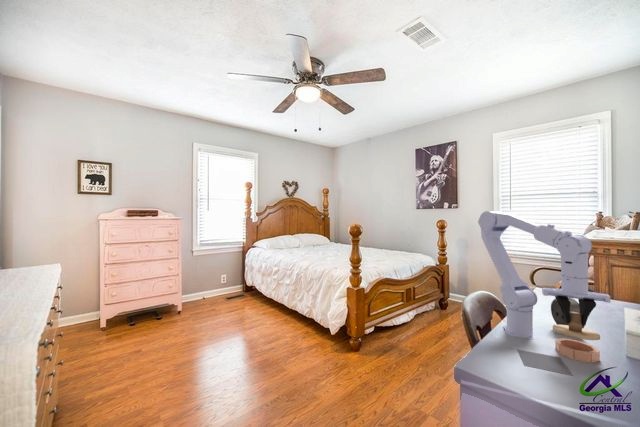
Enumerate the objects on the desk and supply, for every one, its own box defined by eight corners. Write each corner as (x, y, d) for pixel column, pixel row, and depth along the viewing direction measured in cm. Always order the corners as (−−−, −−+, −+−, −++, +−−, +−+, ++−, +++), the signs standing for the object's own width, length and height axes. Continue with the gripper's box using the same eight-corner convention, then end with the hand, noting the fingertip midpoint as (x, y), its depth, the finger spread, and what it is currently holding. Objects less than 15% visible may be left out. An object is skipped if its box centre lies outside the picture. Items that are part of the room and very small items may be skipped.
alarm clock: (587, 339, 89) (586, 290, 89) (568, 338, 90) (567, 289, 90) (564, 326, 100) (563, 282, 100) (547, 325, 101) (547, 282, 101)
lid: (550, 324, 85) (550, 306, 85) (594, 332, 79) (594, 312, 80) (555, 334, 77) (554, 313, 77) (605, 343, 71) (604, 320, 72)
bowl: (552, 346, 85) (552, 336, 85) (590, 352, 80) (590, 342, 80) (562, 359, 77) (562, 348, 77) (604, 367, 73) (604, 355, 73)
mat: (517, 351, 81) (517, 349, 81) (560, 359, 76) (560, 357, 76) (524, 367, 72) (524, 365, 72) (573, 378, 68) (573, 375, 68)
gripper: (546, 276, 79) (546, 323, 78) (615, 282, 72) (616, 333, 72) (540, 272, 85) (540, 315, 85) (603, 277, 78) (604, 324, 78)
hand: (574, 323), depth 79 cm, fingers closed on lid, 3 cm apart
